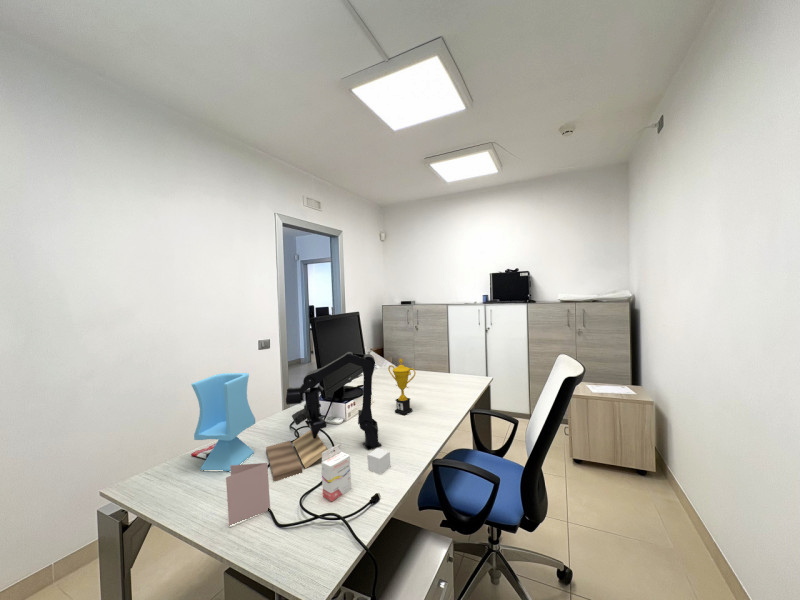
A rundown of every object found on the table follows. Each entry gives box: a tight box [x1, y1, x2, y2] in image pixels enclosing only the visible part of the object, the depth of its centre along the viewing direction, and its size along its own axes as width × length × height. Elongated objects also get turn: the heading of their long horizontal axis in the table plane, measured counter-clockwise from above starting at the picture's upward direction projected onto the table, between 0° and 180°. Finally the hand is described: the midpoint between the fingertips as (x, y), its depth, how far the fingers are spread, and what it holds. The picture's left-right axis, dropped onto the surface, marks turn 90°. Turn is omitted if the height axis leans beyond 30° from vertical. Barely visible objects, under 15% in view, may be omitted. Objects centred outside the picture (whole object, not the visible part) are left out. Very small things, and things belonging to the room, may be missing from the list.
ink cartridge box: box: [320, 443, 352, 502], centre depth 103 cm, size 9×5×15 cm, turn 141°
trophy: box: [387, 358, 416, 416], centre depth 170 cm, size 19×10×30 cm, turn 51°
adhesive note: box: [367, 447, 391, 475], centre depth 116 cm, size 6×6×6 cm
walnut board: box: [265, 440, 303, 482], centre depth 125 cm, size 26×10×2 cm, turn 29°
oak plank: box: [292, 429, 328, 469], centre depth 130 cm, size 22×10×2 cm, turn 29°
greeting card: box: [225, 462, 271, 527], centre depth 93 cm, size 11×7×15 cm, turn 92°
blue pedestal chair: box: [191, 372, 256, 471], centre depth 126 cm, size 16×16×35 cm
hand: (314, 438), depth 131 cm, fingers closed
